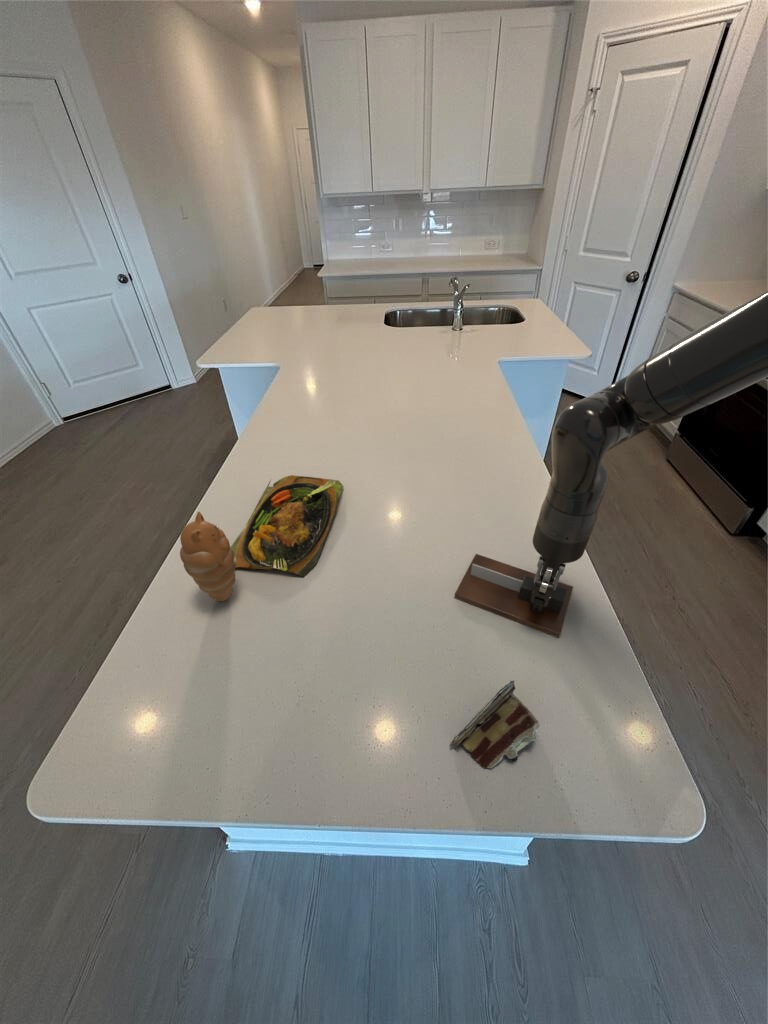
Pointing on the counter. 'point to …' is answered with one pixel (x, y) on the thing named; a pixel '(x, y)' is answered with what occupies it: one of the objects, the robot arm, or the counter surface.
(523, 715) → the chocolate cake
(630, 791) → the counter surface
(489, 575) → the knife
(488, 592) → the board
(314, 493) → the prepared meal
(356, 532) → the counter surface
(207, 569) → the cat ice cream
